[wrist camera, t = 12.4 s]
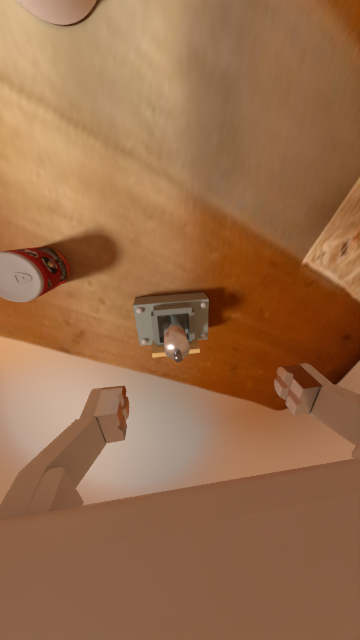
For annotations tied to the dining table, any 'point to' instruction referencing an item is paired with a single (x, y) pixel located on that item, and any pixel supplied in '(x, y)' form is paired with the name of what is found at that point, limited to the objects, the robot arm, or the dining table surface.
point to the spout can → (175, 338)
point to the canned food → (31, 272)
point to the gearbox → (159, 307)
